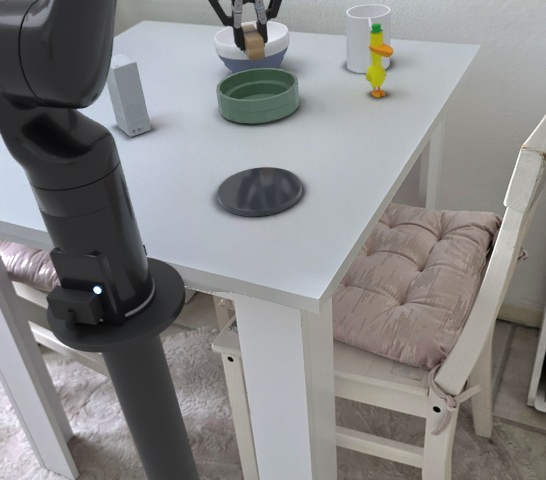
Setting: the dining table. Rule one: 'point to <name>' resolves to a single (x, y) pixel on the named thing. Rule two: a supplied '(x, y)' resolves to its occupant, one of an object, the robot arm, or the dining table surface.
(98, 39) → the robot arm
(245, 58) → the bowl
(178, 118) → the dining table surface
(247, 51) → the clip
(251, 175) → the plate
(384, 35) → the cup
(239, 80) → the green bowl
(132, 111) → the cosmetic box
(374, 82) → the toy figure
